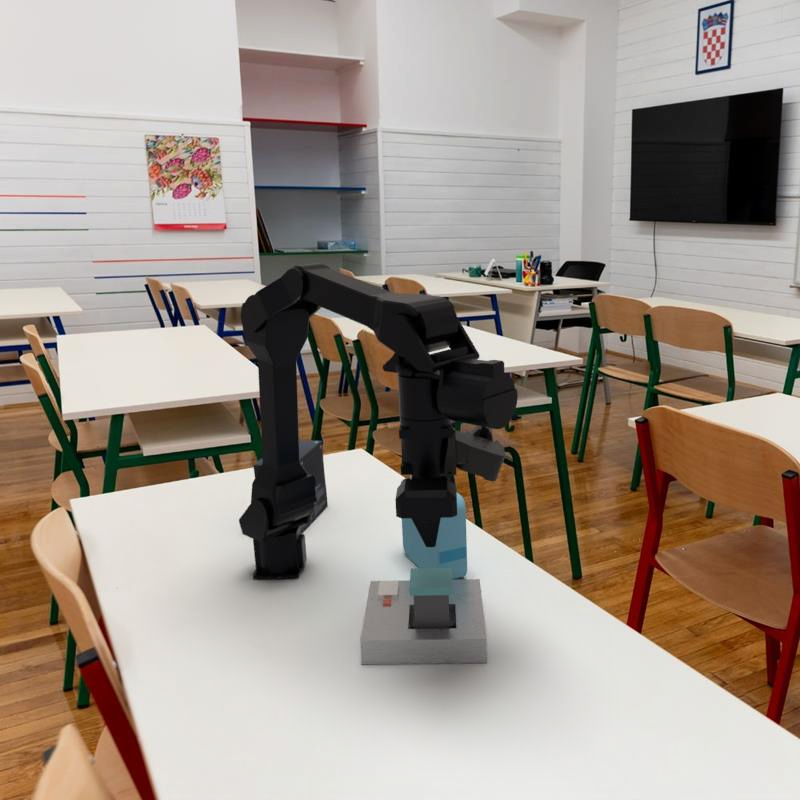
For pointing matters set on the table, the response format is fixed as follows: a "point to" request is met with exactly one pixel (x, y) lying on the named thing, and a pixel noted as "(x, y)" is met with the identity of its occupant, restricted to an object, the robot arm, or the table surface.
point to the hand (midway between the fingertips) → (430, 545)
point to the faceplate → (399, 644)
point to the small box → (314, 466)
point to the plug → (431, 597)
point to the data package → (440, 543)
